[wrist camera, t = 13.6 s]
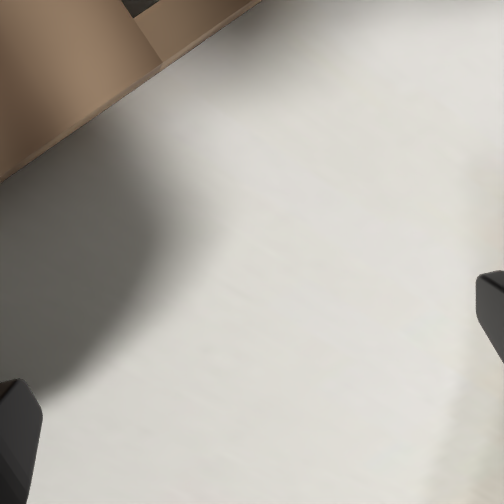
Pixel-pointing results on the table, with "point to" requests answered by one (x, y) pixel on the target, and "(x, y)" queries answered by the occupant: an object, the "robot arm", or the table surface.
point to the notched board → (86, 61)
